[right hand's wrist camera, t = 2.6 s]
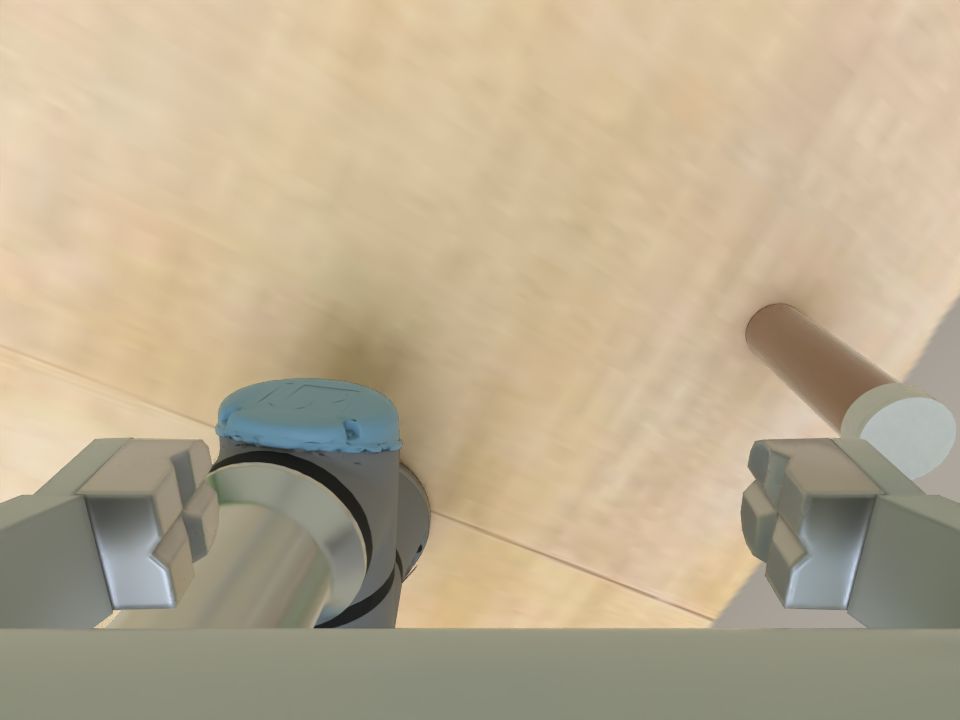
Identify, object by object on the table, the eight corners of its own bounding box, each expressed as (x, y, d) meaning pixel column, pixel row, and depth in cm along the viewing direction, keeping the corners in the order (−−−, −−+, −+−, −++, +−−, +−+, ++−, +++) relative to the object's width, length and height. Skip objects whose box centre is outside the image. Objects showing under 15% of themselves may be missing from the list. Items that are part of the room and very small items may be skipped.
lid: (891, 478, 45) (911, 496, 43) (821, 441, 44) (837, 458, 42) (953, 407, 43) (977, 423, 41) (881, 366, 42) (902, 381, 40)
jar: (780, 367, 62) (906, 486, 43) (733, 342, 61) (843, 452, 42) (816, 320, 60) (963, 422, 42) (768, 293, 59) (898, 386, 41)
